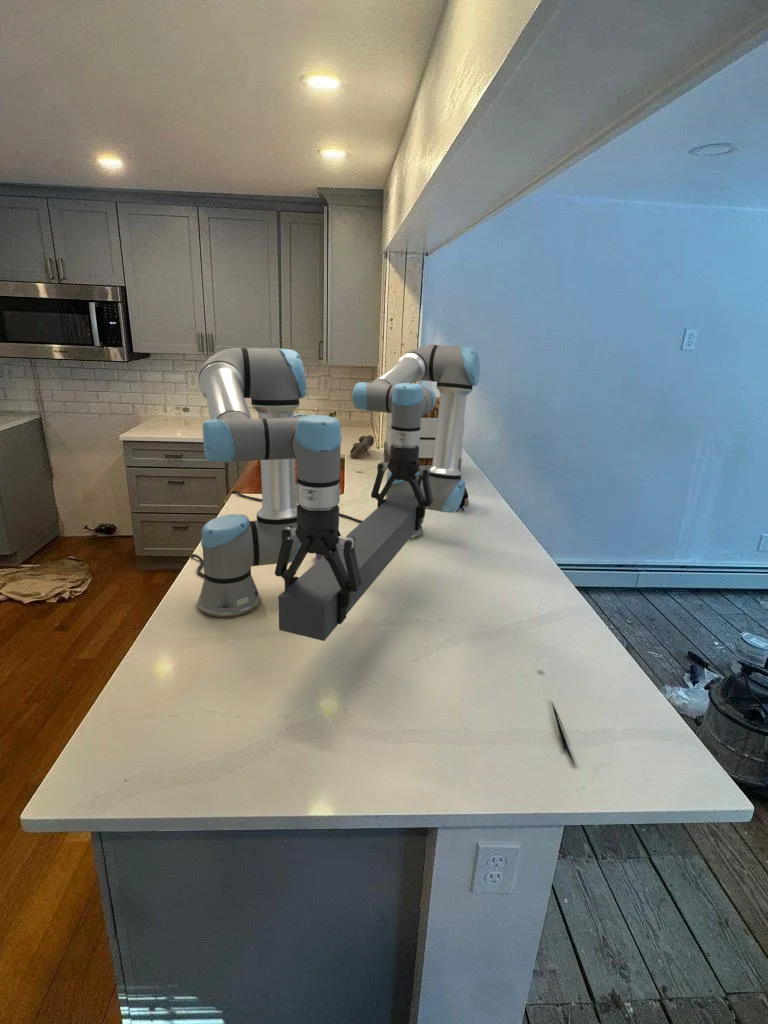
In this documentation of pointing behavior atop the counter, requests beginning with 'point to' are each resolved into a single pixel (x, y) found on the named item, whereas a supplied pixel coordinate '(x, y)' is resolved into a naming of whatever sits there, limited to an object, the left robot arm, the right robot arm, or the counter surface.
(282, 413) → the left robot arm
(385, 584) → the counter surface
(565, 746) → the feather
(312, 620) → the thick board
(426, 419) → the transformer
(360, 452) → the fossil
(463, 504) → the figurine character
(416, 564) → the counter surface
